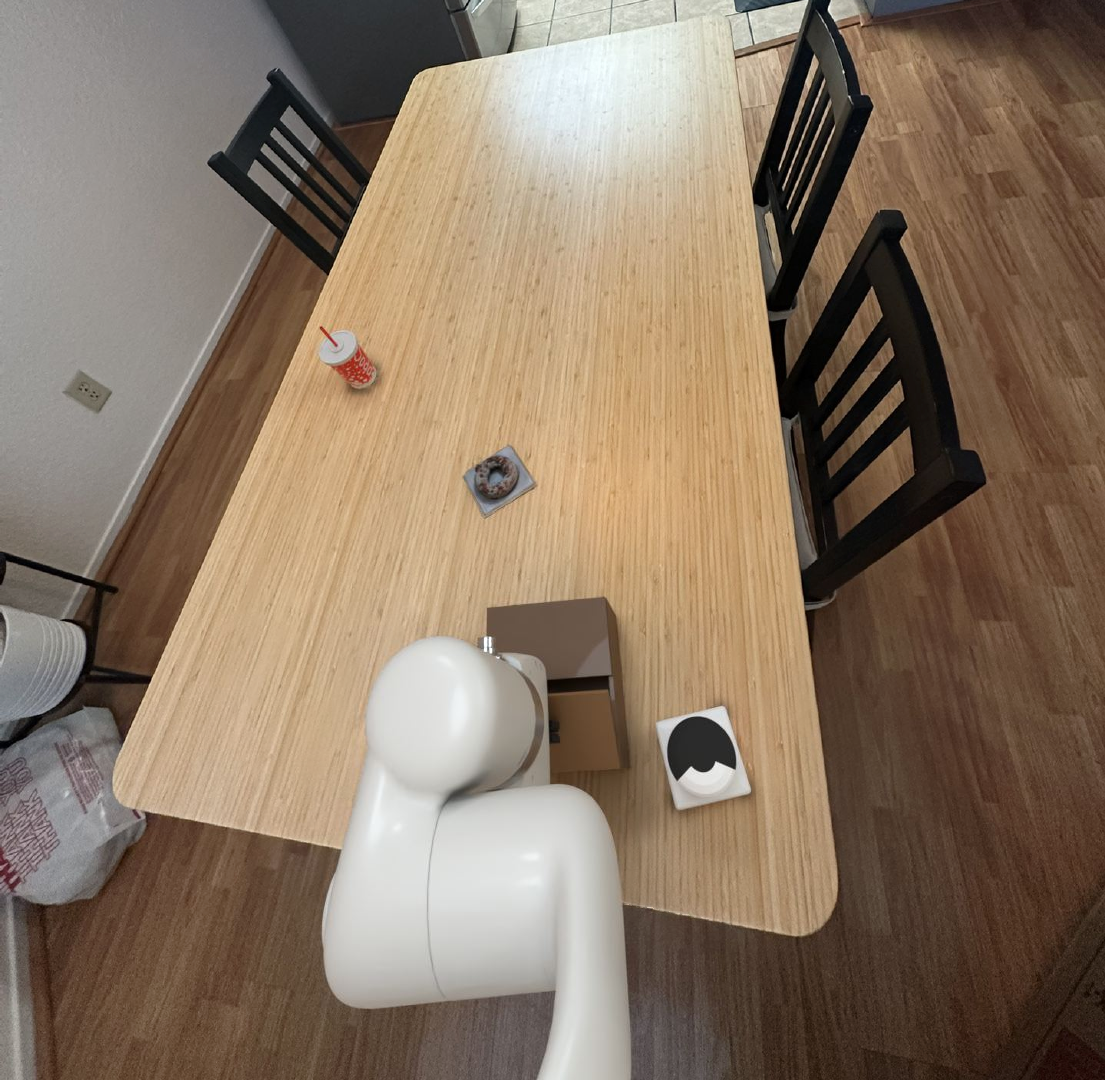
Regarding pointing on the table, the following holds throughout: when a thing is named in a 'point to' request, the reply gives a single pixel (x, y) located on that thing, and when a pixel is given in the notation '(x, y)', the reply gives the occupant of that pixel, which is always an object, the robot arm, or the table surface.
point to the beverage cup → (347, 358)
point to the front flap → (583, 732)
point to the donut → (498, 480)
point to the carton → (568, 649)
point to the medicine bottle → (702, 758)
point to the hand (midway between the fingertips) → (543, 733)
